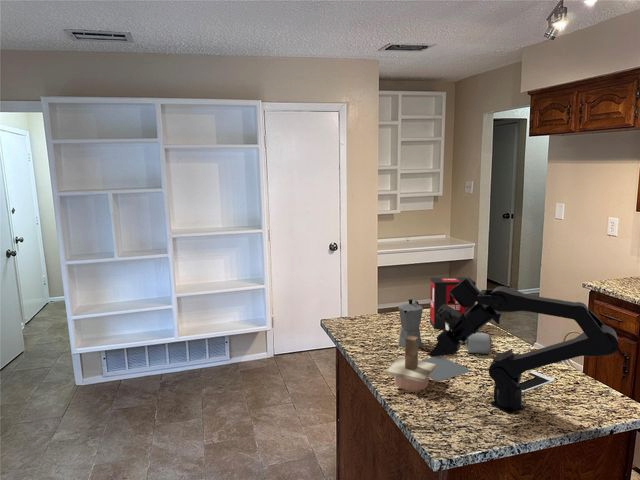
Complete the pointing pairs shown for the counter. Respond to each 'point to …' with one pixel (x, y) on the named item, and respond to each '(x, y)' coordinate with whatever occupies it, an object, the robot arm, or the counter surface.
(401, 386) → the terracotta bowl
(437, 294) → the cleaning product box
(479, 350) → the ceramic mug
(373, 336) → the counter surface
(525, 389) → the cell phone
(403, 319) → the coffeepot
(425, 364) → the square lid with knob
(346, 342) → the counter surface
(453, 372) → the rubber mat
